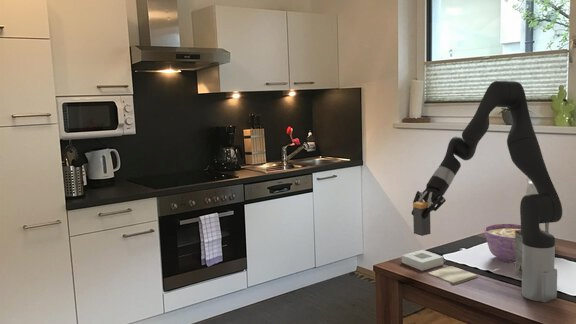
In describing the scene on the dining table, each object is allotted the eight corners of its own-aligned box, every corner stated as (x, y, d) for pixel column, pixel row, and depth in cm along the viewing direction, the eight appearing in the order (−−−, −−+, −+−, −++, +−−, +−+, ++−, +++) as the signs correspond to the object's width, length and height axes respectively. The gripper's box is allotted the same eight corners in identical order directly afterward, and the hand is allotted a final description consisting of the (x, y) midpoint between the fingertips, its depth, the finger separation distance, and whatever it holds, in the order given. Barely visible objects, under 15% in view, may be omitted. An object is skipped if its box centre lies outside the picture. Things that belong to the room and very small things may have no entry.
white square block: (443, 265, 194) (443, 256, 193) (422, 271, 188) (422, 262, 188) (422, 258, 203) (422, 249, 203) (401, 263, 198) (401, 255, 198)
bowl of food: (528, 250, 206) (529, 223, 204) (549, 267, 186) (549, 237, 184) (477, 251, 208) (477, 224, 206) (492, 268, 188) (492, 238, 186)
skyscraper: (534, 244, 212) (535, 179, 208) (519, 239, 220) (520, 176, 216) (550, 242, 215) (551, 177, 211) (535, 237, 223) (536, 174, 219)
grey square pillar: (430, 233, 193) (429, 203, 192) (421, 235, 191) (421, 204, 190) (422, 231, 197) (421, 201, 196) (413, 233, 195) (413, 202, 193)
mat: (477, 277, 181) (477, 275, 180) (453, 284, 175) (453, 282, 175) (451, 267, 191) (451, 265, 191) (428, 274, 185) (427, 272, 185)
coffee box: (539, 271, 183) (540, 228, 181) (549, 278, 176) (550, 233, 174) (514, 273, 183) (515, 230, 180) (523, 279, 176) (523, 235, 174)
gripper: (422, 173, 201) (399, 207, 197) (449, 177, 189) (426, 214, 184) (432, 184, 204) (410, 218, 200) (459, 189, 192) (437, 225, 188)
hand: (418, 216), depth 192 cm, fingers closed on grey square pillar, 4 cm apart
